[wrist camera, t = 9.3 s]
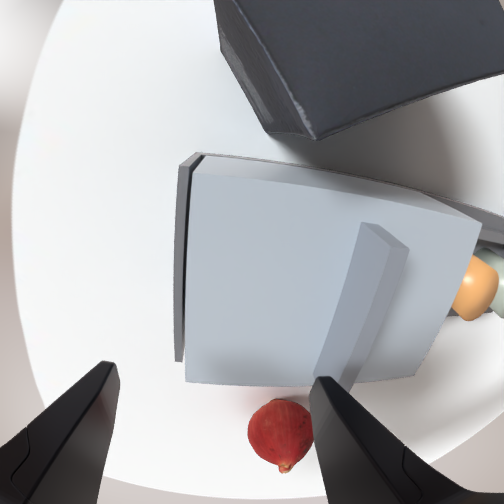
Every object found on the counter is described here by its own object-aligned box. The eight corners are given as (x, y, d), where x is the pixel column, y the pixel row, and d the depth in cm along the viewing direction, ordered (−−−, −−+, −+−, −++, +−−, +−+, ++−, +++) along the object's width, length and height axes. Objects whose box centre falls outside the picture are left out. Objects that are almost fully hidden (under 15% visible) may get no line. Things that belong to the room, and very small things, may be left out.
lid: (420, 192, 17) (514, 242, 9) (377, 320, 21) (430, 402, 13) (206, 155, 15) (181, 187, 7) (194, 312, 19) (181, 419, 11)
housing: (511, 219, 20) (553, 244, 14) (476, 309, 24) (509, 342, 18) (196, 152, 16) (178, 165, 11) (186, 300, 20) (175, 361, 15)
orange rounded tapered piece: (432, 236, 18) (476, 266, 14) (465, 243, 19) (505, 270, 14) (415, 285, 20) (451, 322, 15) (448, 287, 20) (483, 320, 16)
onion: (302, 375, 24) (322, 451, 17) (308, 408, 27) (325, 474, 19) (238, 389, 24) (243, 466, 17) (253, 421, 27) (260, 487, 20)
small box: (364, -4, 12) (461, -67, 3) (407, 80, 15) (533, 73, 5) (214, 44, 14) (197, -51, 4) (266, 137, 16) (320, 155, 7)
